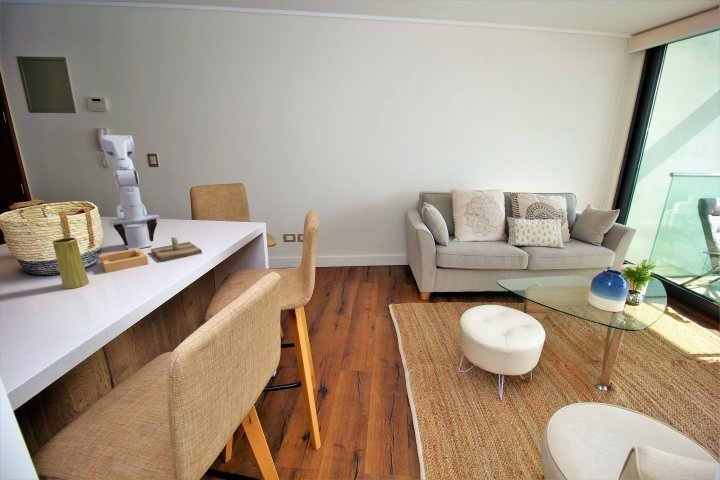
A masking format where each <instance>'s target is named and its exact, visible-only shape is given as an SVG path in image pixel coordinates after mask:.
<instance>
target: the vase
mask: <svg viewBox="0 0 720 480" xmlns="http://www.w3.org/2000/svg"><path fill="white" fill-rule="evenodd" d="M52 245H53V250H54V255H55V257H56V261H57V267H58V270H59V275H60V278H61V280H60V281H61V284H62V288H64V289H67V290H71V289H78V288H81V287H84V286H86V285H88V284H89V283H90V279H89V278H88V275H87V271H86V268H85V264H84V261H83V258H82V255H81V252H80V249H79V248H80V247H79V243H78V240H77V238H76V237H63V238H57V239H54V240H52Z"/></svg>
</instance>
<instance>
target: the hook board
mask: <svg viewBox="0 0 720 480" xmlns="http://www.w3.org/2000/svg"><path fill="white" fill-rule="evenodd" d="M170 239H171V245H165V246H159V247H154V248H151V249H150V252H151V254H153V255H154V257H155V258H157V259H158V260H159V261H160V262H161V263H163V262H169V261H173V260H178V259H182V258H187V257H191V256H195V255H196V256H197V255H200V254H201V255H202V254H203V252H202V249H201V248H200V247H198V246H196V245H195V244H194V243H192V242H190V241H186V242H181V243H179V239H178V237H174V236H172V237H171V238H170Z"/></svg>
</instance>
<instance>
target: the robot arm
mask: <svg viewBox="0 0 720 480" xmlns="http://www.w3.org/2000/svg"><path fill="white" fill-rule="evenodd" d="M99 137H100V142H101V146H102V151H103V154H104V156H105V158H106V159H108V160H111V161H112V166H113V170H114V171H113V173H112V174H113V179H114V182H115V183H114V184H115V186H116V189H117V192H118V194H119V200H120V204H118V205H117V206H116V208H115V211H116V217H117V218H116V219H110V220H107V221H108V226H109V227H110V228H112V227H113V228H114V229H115V231H116V232H117V233H118V235H119V236H120V238H121V240H122V241H123V245H124V247H125V248H126V249H127V250H131V249H137V248H139V249H140V250H141V249H145V248H151V247H152V244H151V243H150V242H154V237H155V236H154V234H155V231H156V228H157V225H158V221H160V216H159V214H148V213H147V212H148V211H147V209H146V206H145V205H144V203H142V198H141V193H140V188H139V187H140V180H139V179H140V178H139V174H138V171H137V170H136V168H135V166H134V163H133V161H132V159H134V158H135V156H136V153H135V152H136V151H135V142H134V139H133V136H132V135H130V134H127V135H123V134H122V135H119V134H117V135H116V134H103V133H102V134H101V135H100V136H99ZM146 226H147V229H146ZM147 232H148V233H147ZM147 234H148V235H147ZM149 241H150V242H149Z"/></svg>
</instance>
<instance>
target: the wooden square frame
mask: <svg viewBox="0 0 720 480" xmlns="http://www.w3.org/2000/svg"><path fill="white" fill-rule="evenodd" d="M98 257H99V261H100V264H101V266H102V267H103V269H104V271H105V273H106V274H108V273H112V272H117V271H121V270H126V269H132V268H136V267H141V266H145V265H149V259H148V256H147V255H146V254H145V253H144V251H142V250H141V248H140V249H139V248H137V249H131V250H128V249H127V250H121V251H115V252H111V253H105V254H99V255H98Z"/></svg>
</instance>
